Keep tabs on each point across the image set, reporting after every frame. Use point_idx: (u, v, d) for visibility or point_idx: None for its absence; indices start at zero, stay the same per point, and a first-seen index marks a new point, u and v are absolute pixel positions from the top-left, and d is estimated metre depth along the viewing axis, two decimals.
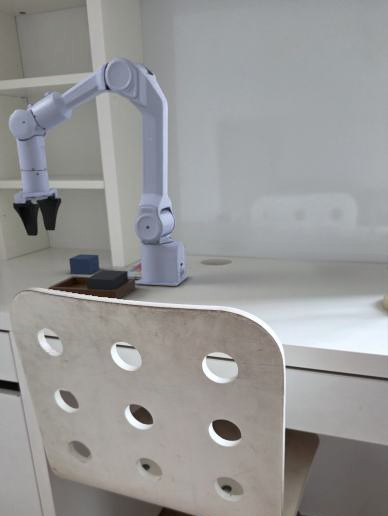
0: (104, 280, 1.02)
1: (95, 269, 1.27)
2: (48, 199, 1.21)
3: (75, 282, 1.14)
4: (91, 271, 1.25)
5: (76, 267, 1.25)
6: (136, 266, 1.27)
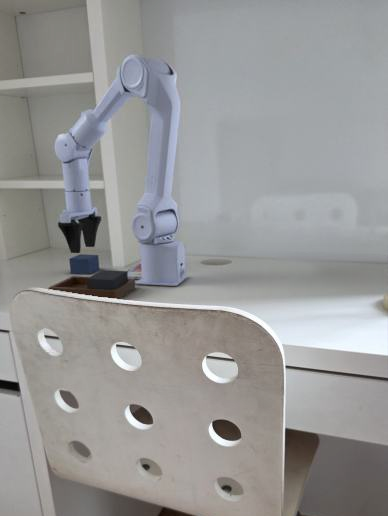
0: (104, 280, 1.02)
1: (95, 269, 1.27)
2: (89, 217, 1.26)
3: (75, 282, 1.14)
4: (91, 271, 1.25)
5: (76, 267, 1.25)
6: (137, 266, 1.27)
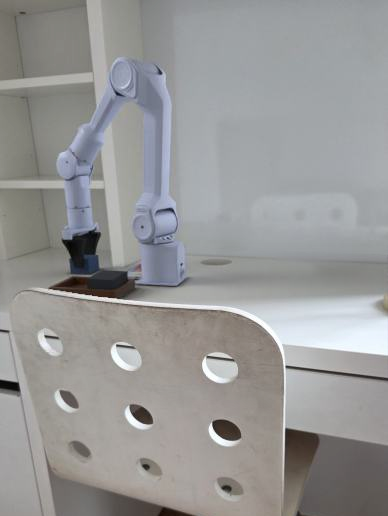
0: (104, 280, 1.02)
1: (95, 269, 1.27)
2: (89, 233, 1.27)
3: (75, 282, 1.14)
4: (91, 271, 1.25)
5: None
6: (137, 266, 1.27)
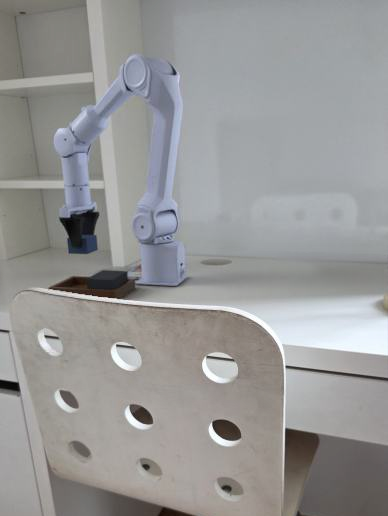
0: (104, 280, 1.02)
1: (93, 249, 1.25)
2: (87, 213, 1.25)
3: (75, 282, 1.14)
4: (89, 251, 1.23)
5: (73, 247, 1.23)
6: (138, 266, 1.27)
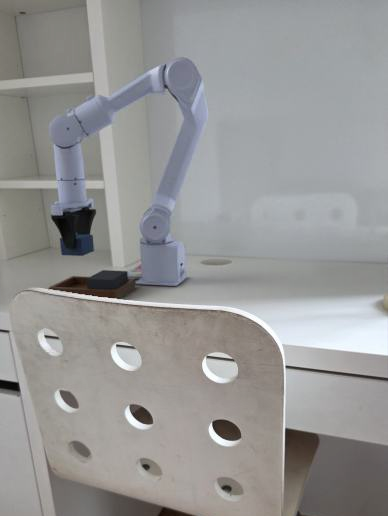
0: (104, 280, 1.02)
1: (89, 250, 1.13)
2: (82, 210, 1.13)
3: (75, 282, 1.14)
4: (84, 252, 1.11)
5: None
6: (138, 266, 1.27)
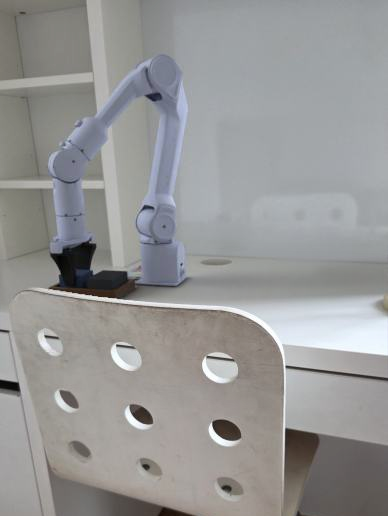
0: (104, 280, 1.02)
1: None
2: (82, 245, 1.09)
3: None
4: None
5: None
6: (139, 266, 1.27)
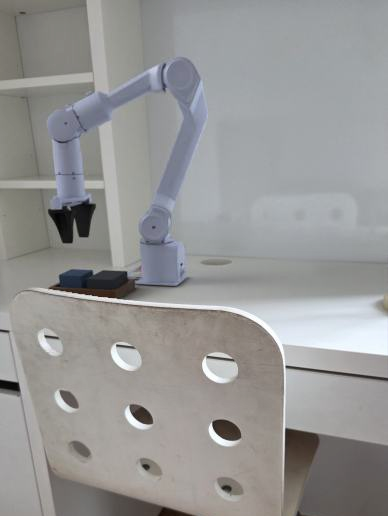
0: (104, 280, 1.02)
1: None
2: (82, 204, 1.15)
3: None
4: None
5: (66, 284, 1.06)
6: (140, 266, 1.27)
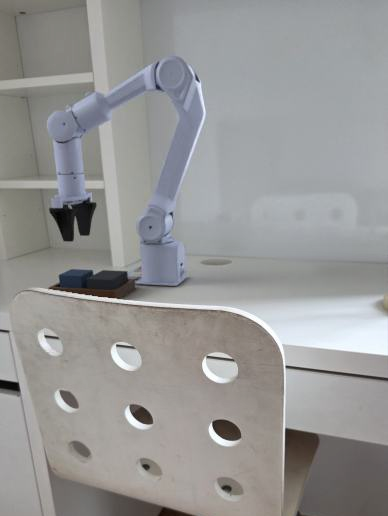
0: (104, 280, 1.02)
1: None
2: (83, 203, 1.17)
3: None
4: None
5: (66, 284, 1.06)
6: None
